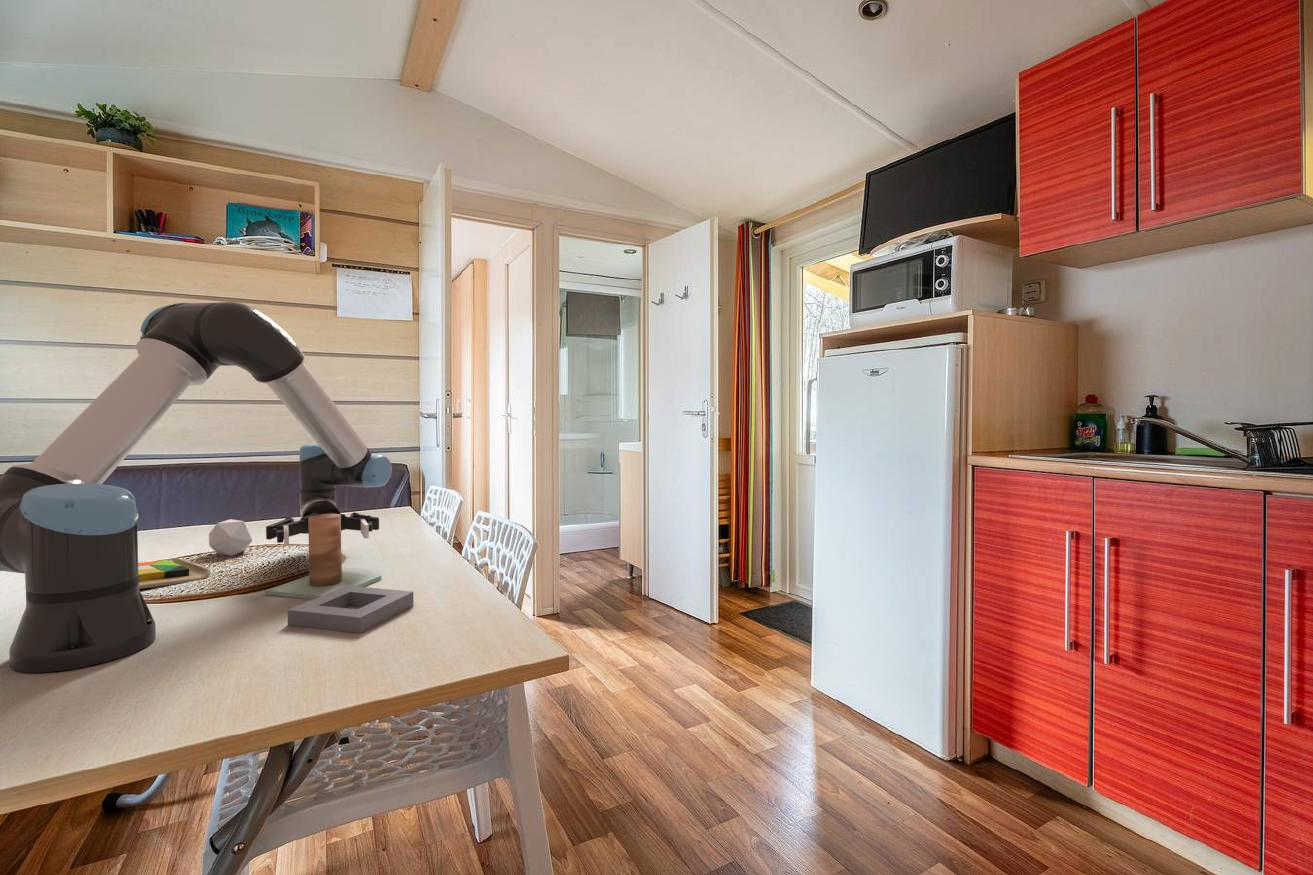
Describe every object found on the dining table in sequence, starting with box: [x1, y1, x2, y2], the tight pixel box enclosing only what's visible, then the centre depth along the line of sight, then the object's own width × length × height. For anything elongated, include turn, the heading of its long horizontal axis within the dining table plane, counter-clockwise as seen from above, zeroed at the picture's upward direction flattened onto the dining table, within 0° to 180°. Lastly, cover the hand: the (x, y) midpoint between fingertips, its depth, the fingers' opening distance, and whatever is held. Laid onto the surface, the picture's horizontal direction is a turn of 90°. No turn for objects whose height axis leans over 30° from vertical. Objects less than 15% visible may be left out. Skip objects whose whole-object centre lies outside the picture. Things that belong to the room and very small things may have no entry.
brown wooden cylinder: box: [308, 513, 343, 587], centre depth 117 cm, size 6×6×13 cm
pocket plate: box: [286, 586, 414, 634], centre depth 102 cm, size 14×14×2 cm
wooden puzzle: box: [138, 557, 212, 590], centre depth 119 cm, size 18×19×4 cm
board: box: [264, 571, 382, 600], centre depth 117 cm, size 14×14×1 cm
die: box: [208, 519, 253, 557], centre depth 141 cm, size 8×9×10 cm
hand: (327, 535), depth 116 cm, fingers open, 13 cm apart
